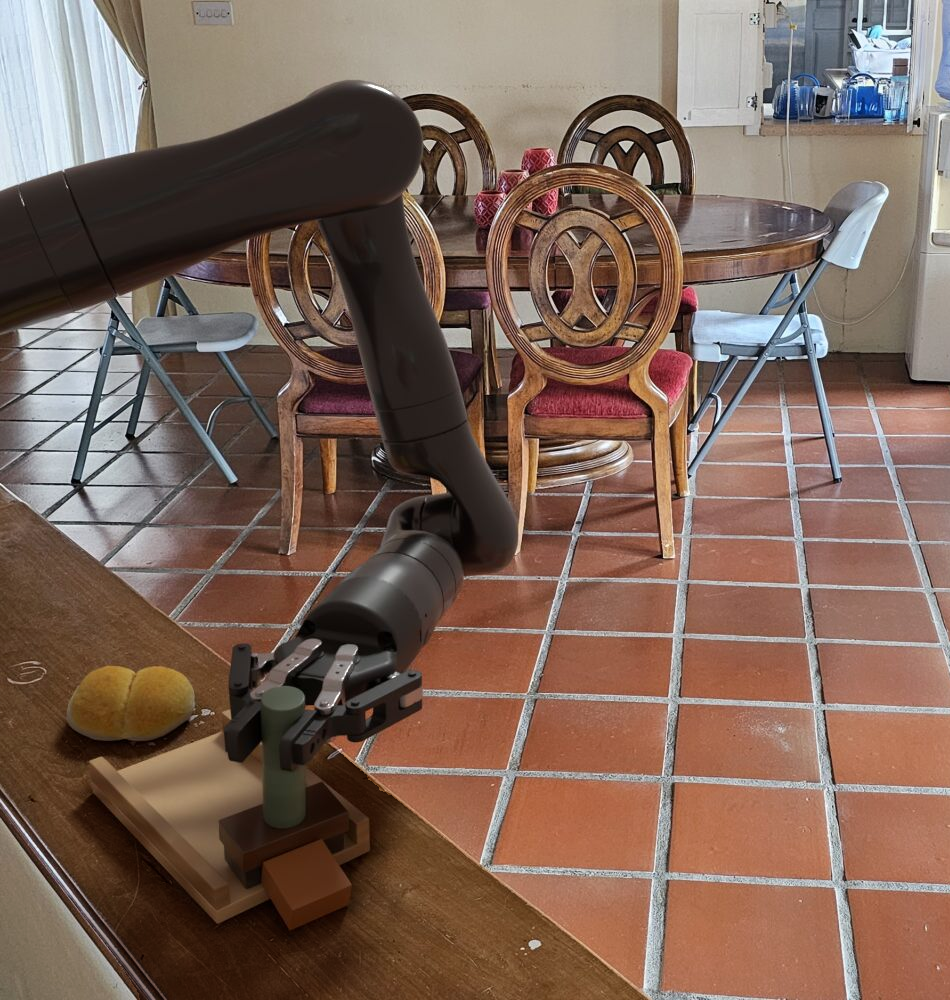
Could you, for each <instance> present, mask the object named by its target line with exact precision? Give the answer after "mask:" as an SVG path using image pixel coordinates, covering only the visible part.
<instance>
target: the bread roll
mask: <svg viewBox="0 0 950 1000" xmlns="http://www.w3.org/2000/svg"><path fill="white" fill-rule="evenodd" d="M195 698H196V697H195V691H194V688H193V686H192V684H191V682H190V681H189V679H188V678H187V676H186V675H184V674H183V673H181V672H179V671H178V670H175V669H173V668H169V667H165V666H162V665H158V666H155V665H153V666H148V667H144V668H142V669H140V670H138V671H137V672H135V671H133V670H132V669H130V668H127V667H123V666H120V665H104V666H102V667H99V668H97V669H94V670H92V671H91V672H89V673H88V674H87V675H86V676H85V677H84V678H83V679H82V681H81V682H80V683H79V684H78V685H77V686H76V689H75V690H74V692H73V693H72V697H70V699H69V702H68V705H67V709H66V722H67V723H68V726H69V727H70V728H72V729H73V730H74V731H75V732H77V733H79V734H80V735H83V736H85V737H87V738H90V739H92V740H95V741H105V742H108V741H109V742H112V741H121V740H128V741H133V742H147V741H153V740H156V739H159V738H162V737H164V736H166V735H167V734H169V733H171V732H172V731H174V730H175V729H176V728H179V726H181V725H182V724H184V723H185V722H187V721H188V720H190V718H191V717H192V715H193V712H194V711H195V706H196V702H195Z"/></svg>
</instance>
